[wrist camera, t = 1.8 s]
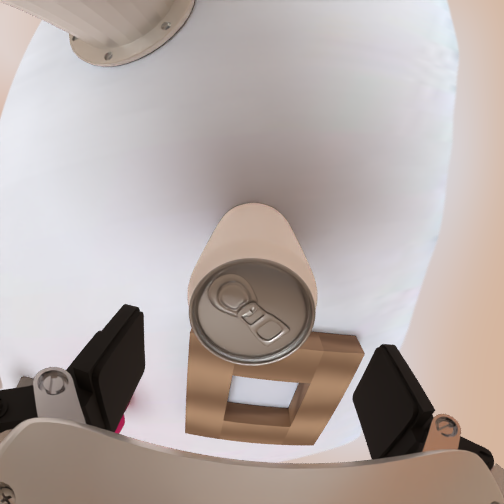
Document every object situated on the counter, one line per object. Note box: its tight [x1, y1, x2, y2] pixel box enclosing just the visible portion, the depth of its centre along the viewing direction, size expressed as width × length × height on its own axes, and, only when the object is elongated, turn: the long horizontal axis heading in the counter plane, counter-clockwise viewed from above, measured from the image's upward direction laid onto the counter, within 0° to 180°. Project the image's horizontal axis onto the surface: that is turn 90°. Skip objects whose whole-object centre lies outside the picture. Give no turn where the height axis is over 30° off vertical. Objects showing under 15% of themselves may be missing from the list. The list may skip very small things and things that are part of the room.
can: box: [188, 203, 317, 366], centre depth 18 cm, size 6×6×12 cm
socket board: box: [185, 329, 365, 445], centre depth 27 cm, size 16×16×3 cm
